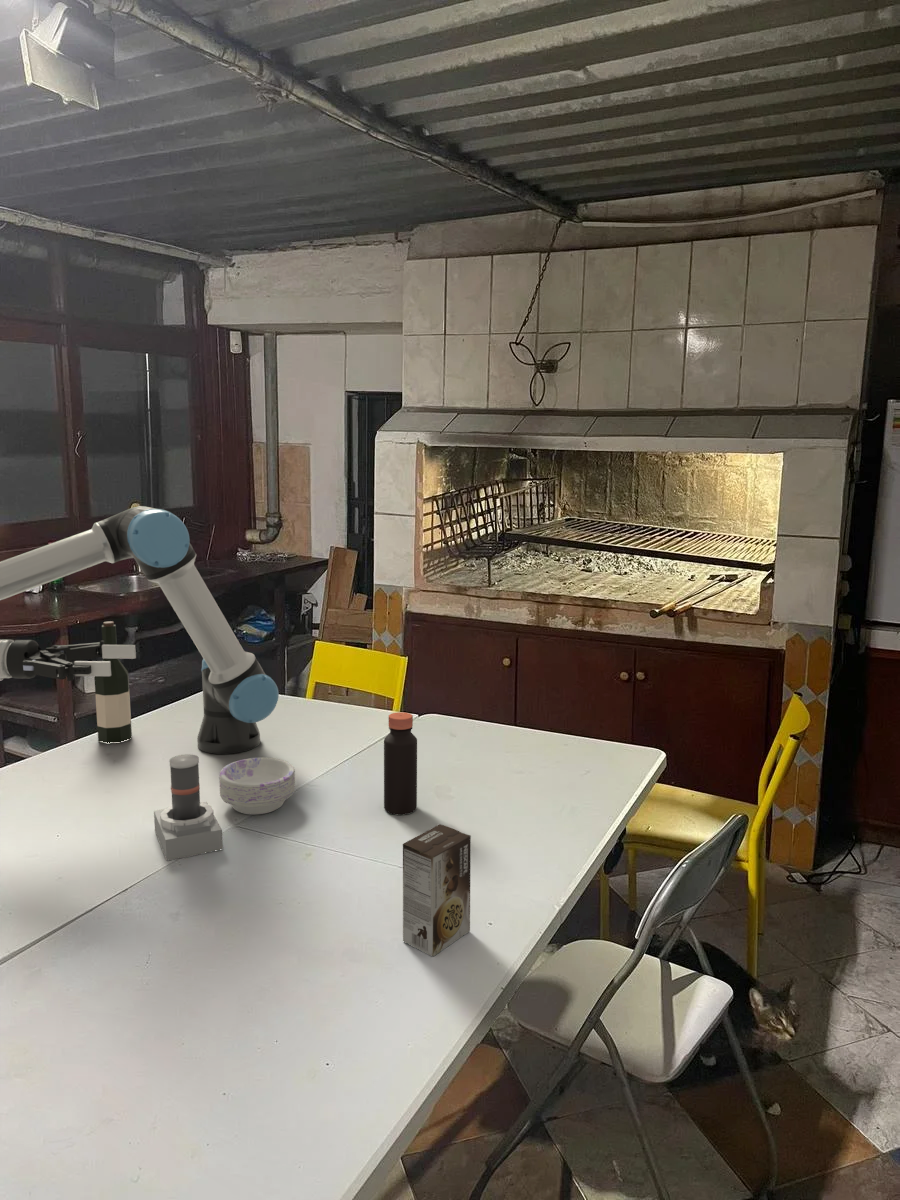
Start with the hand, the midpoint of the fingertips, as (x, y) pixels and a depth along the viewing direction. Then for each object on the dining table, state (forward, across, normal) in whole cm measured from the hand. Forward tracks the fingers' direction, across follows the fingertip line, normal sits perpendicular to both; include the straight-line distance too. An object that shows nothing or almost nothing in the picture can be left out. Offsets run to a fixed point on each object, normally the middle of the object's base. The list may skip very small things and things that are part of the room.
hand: (123, 660), depth 170 cm
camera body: (+14, +11, -32) cm, 37 cm away
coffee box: (+62, +44, -32) cm, 82 cm away
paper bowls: (+24, -5, -32) cm, 41 cm away
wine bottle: (-20, -45, -32) cm, 59 cm away
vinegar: (+54, -4, -32) cm, 63 cm away
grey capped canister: (+14, +11, -28) cm, 33 cm away
